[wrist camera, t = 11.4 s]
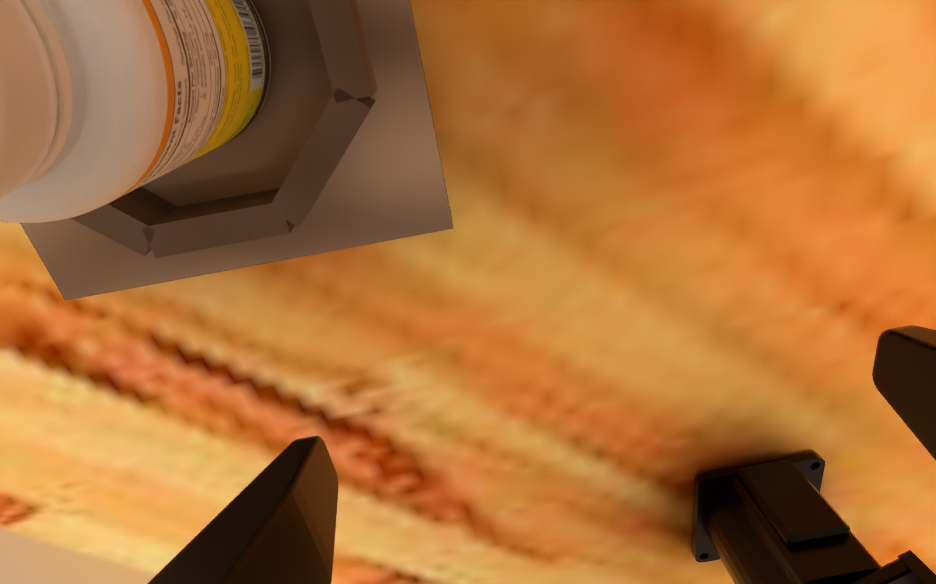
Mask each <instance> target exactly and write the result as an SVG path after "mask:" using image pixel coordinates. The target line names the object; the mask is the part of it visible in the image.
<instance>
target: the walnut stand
mask: <svg viewBox="0 0 936 584" xmlns="http://www.w3.org/2000/svg"><path fill="white" fill-rule="evenodd" d="M251 1H252V3H253V5H254V7H255V8H256V10H257V12H258V14H259V16H260V18H261V21H262V23H263V26H264V29H265V32H266V35H267V39H268V43H269V48H270V56H271V77H270V84H269V89H268V93H267V96H266V99H265V101H264V104H263V106H262V108H261V110H260V112H259V113H258V115H257V117H256V118H255V119H254V121H253V122H252V123H251V124H250V125H249V126H248V127H247V128H246V129H245V130H244V131H243V132H242V133H241V134H239V135H238V136H237V137H235V138H234V139H232V140H231V141H229V142H227V143H225V144H223V145H221V146H219V147H217V148H215V149H213V150H211V151H209V152H208V153H206V154H204V155H202V156H200V157H198V158H196V159H194V160H192V161H190V162H188V163H185V164H183V165H181V166H179V167H178V168H176V169H174V170H172V171H170V172H168V173H166V174H164V175H162V176H160V177H158V178H156V179H154V180H153V181H151V182H149V183H147V184H145V185H143V186H141V187H139V188H137V189H135V190H133V191H131V192H129V193H127V194H125V195H123V196H121V197H120V198H118V199H116V200H114V201H112V202H110V203H108V204H106V205H103V206H101V207H99V208H97V209H94V210H92V211H90V212H88V213H85V214H82V215H79V216H76V217H72V218H68V219H63V220H58V221H51V222H41V223H20V224H21V225H22V227H23V229H24V231H25V232H26V234H27V236H28V237H29V239H30V241H31V243H32V244H33V246H34V248H35V249H36V251H37V253H38V254H39V256H40V258H41V260H42V261H43V263H44V265H45V266H46V268H47V270H48V272H49V273H50V275H51V277H52V278H53V280H54V282H55V283H56V285H57V287H58V289H59V290H60V292H61V294H62V295H63V297H64V299H65V300H71V299H76V298H82V297H87V296H92V295H98V294H103V293H108V292H114V291H119V290H125V289H130V288H135V287H141V286H146V285H151V284H157V283H162V282H168V281H173V280H178V279H184V278H189V277H194V276H200V275H205V274H211V273H216V272H221V271H227V270H232V269H237V268H243V267H248V266H254V265H259V264H264V263H270V262H275V261H280V260H286V259H291V258H297V257H302V256H307V255H313V254H318V253H323V252H329V251H334V250H340V249H345V248H350V247H356V246H361V245H366V244H372V243H377V242H383V241H388V240H393V239H399V238H404V237H409V236H415V235H420V234H426V233H431V232H436V231H442V230H447V229H452V228H453V225H452V218H451V212H450V207H449V202H448V197H447V191H446V186H445V181H444V176H443V170H442V165H441V160H440V155H439V150H438V144H437V139H436V134H435V129H434V123H433V118H432V113H431V108H430V102H429V97H428V92H427V87H426V81H425V76H424V71H423V66H422V61H421V55H420V50H419V45H418V40H417V34H416V29H415V24H414V19H413V13H412V8H411V3H410V0H251Z"/></svg>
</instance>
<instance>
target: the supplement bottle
mask: <svg viewBox="0 0 936 584" xmlns="http://www.w3.org/2000/svg"><path fill="white" fill-rule="evenodd" d="M270 77H271V56H270V48H269V43H268V39H267V35H266V32H265V29H264V26H263V23H262V21H261V18H260V16H259V14H258V12H257V10H256V8H255V7H254V5H253V3H252V1H251V0H0V221H1V222H11V223H41V222H51V221H58V220H63V219H68V218H72V217H76V216H79V215H82V214H85V213H88V212H90V211H92V210H94V209H97V208H99V207H101V206H103V205H106V204H108V203H110V202H112V201H114V200H116V199H118V198H120V197H121V196H123V195H125V194H127V193H129V192H131V191H133V190H135V189H137V188H139V187H141V186H143V185H145V184H147V183H149V182H151V181H153V180H154V179H156V178H158V177H160V176H162V175H164V174H166V173H168V172H170V171H172V170H174V169H176V168H178V167H179V166H181V165H183V164H185V163H188V162H190V161H192V160H194V159H196V158H198V157H200V156H202V155H204V154H206V153H208V152H209V151H211V150H213V149H215V148H217V147H219V146H221V145H223V144H225V143H227V142H229V141H231V140H232V139H234V138H235V137H237V136H238V135H239V134H241V133H242V132H243V131H244V130H245V129H246V128H247V127H248V126H249V125H250V124H251V123H252V122H253V121H254V119H255V118H256V117H257V115H258V113H259V112H260V110H261V108H262V106H263V104H264V101H265V99H266V96H267V93H268V89H269V84H270Z"/></svg>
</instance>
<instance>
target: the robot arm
mask: <svg viewBox="0 0 936 584" xmlns="http://www.w3.org/2000/svg"><path fill="white" fill-rule="evenodd" d="M872 376H873V381H874V384H875V386H876V388H877V389H878V391H879V392H880V393H881V394H882V396H883V397H884V398H885V399H886V400H887V402H888V403H889V404H890V405H891V407H892V408H893V409H894V410H895V411H896V413H897V414H898V415H899V416H900V417H901V419H902V420H903V421H904V422H905V424H906V425H907V426H908V427H909V428H910V430H911V431H912V432H913V433H914V435H915V436H916V437H917V438H918V439H919V441H920V442H921V443H922V444H923V445H924V447H925V448H926V449H927V450H928V452H929V453H930V454H931V455H932V456H933V458H934V459H935V460H936V330H933V329H928V328H924V327H919V326H904V327H898V328H893V329H888V330H886V331H884V332H882V333H881V335H880V336H879V339H878V344H877V349H876V355H875V361H874V366H873V373H872ZM824 467H825V461H824V460H823V459H822V458H821V457H820V456H819V455H818V454H817V453H808V454H803V455H797V456H792V457H786V458H781V459H775V460H770V461H764V462H759V463H753V464H748V465H742V466H737V467H731V468H726V469H720V470H715V471H709V472H704V473H701V474H700V475H698V476H697V477H696V479H695V487H694V512H693V536H692V554H693V556H694V557H695V559H696V561H698V562H707V561H713V560H718V559H721V561H722V562H723V564H724V566H725V568H726V569H727V571H728V573H729V575H730V576H731V578H732V580H733V582H734V583H735V584H936V575H935V574H934V573H933V572H932V571H931V570H930V569H929V568H928V567H927V566H926V565H925V564H924V563H923V562H922V561H921V560H920V559H919V558H918V557H917V556H916V555H915V554H914V553H913V552H912V551H910V550H909V551H907V552H905V553H903V554H901V555H899V556H898V558H899V559H897V560H895V561H893V562H891V563H889V564H887V565H885V566H883V567H881V566H880V564H879V563H878V562H877V561H876V560H875V559H874V558H873V556H872V555H871V554H870V553H869V552H868V551H867V549H866V548H865V547H864V546H863V545H862V544H861V543H860V541H859V540H858V539H857V538H856V537H855V536H854V535H853V533H852V532H851V531H850V528H849V526H848V525H847V523H846V522H845V521H844V520H843V519H842V518H841V517H840V515H839V514H838V513H837V512H836V511H835V510H834V509H833V507H832V506H831V505H830V504H829V503H828V502H827V501H826V499H825V498H824V497H823V496H822V495H821V494H820V488H821V482H822V477H823V472H824ZM337 499H338V477H337V473H336V470H335V468H334V465H333V463H332V460H331V458H330V455H329V452H328V450H327V447H326V445H325V442H324V441H323V439H322V438H321V437H319V436H312V437H307V438H301V439H297V440H295V441H293V442H292V443H291V444H290V445H289V446H288V447H287V448H286V449H285V450H284V451H283V452H282V453H281V454H280V455H279V456H278V457H277V458H276V459H275V460H273V461H272V462H271V463H270V464H269V465H268V466H267V467H266V468H265V469H264V470H263V471H262V472H261V473H260V474H259V475H258V476H257V477H256V478H255V479H254V480H253V481H252V482H251V483H250V484H249V485H248V486H247V487H246V488H245V489H244V490H243V491H242V492H241V493H240V494H239V495H238V496H237V497H236V498H235V499H234V500H233V501H232V502H230V503H229V504H228V505H227V506H226V507H225V508H224V509H223V510H222V511H221V512H220V513H219V514H218V515H217V516H216V517H215V518H214V519H213V520H212V521H211V522H210V523H209V524H208V525H207V526H206V527H205V528H204V529H203V530H202V531H201V532H200V533H199V534H198V535H197V536H196V537H195V538H194V539H193V540H192V541H191V542H190V543H189V544H188V545H186V546H185V547H184V548H183V549H182V550H181V551H180V552H179V553H178V554H177V555H176V556H175V557H174V558H173V559H172V560H171V561H170V562H169V563H168V564H167V565H166V566H165V567H164V568H163V569H162V570H161V571H160V572H159V573H158V574H157V575H156V576H155V577H154V578H153V579H152V580H151V581H150V582H149V583H148V584H331V580H332V569H333V556H334V542H335V528H336V513H337Z"/></svg>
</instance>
